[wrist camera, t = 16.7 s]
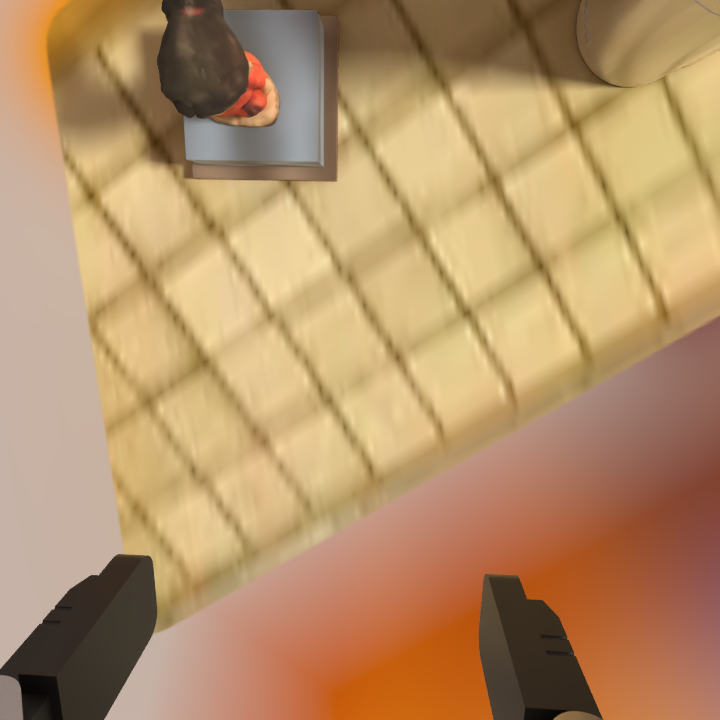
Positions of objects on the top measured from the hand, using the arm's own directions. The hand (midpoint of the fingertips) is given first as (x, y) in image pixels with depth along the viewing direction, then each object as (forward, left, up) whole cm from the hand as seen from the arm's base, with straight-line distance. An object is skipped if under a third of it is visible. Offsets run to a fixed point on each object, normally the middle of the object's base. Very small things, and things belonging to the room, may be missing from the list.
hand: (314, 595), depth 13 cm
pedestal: (+9, -18, -36) cm, 41 cm away
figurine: (+10, -17, -31) cm, 37 cm away
